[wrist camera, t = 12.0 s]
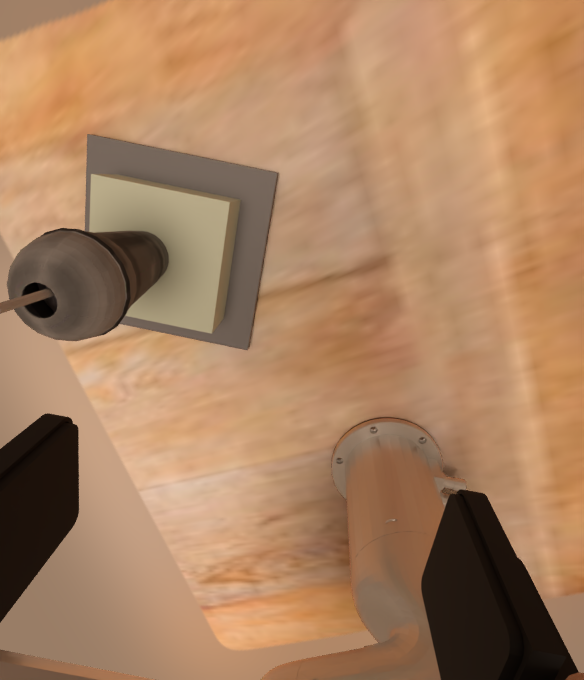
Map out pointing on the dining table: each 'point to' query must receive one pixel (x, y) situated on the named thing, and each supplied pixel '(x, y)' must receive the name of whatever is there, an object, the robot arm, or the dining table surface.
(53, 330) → the beverage cup
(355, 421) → the dining table surface
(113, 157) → the plinth
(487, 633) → the robot arm
